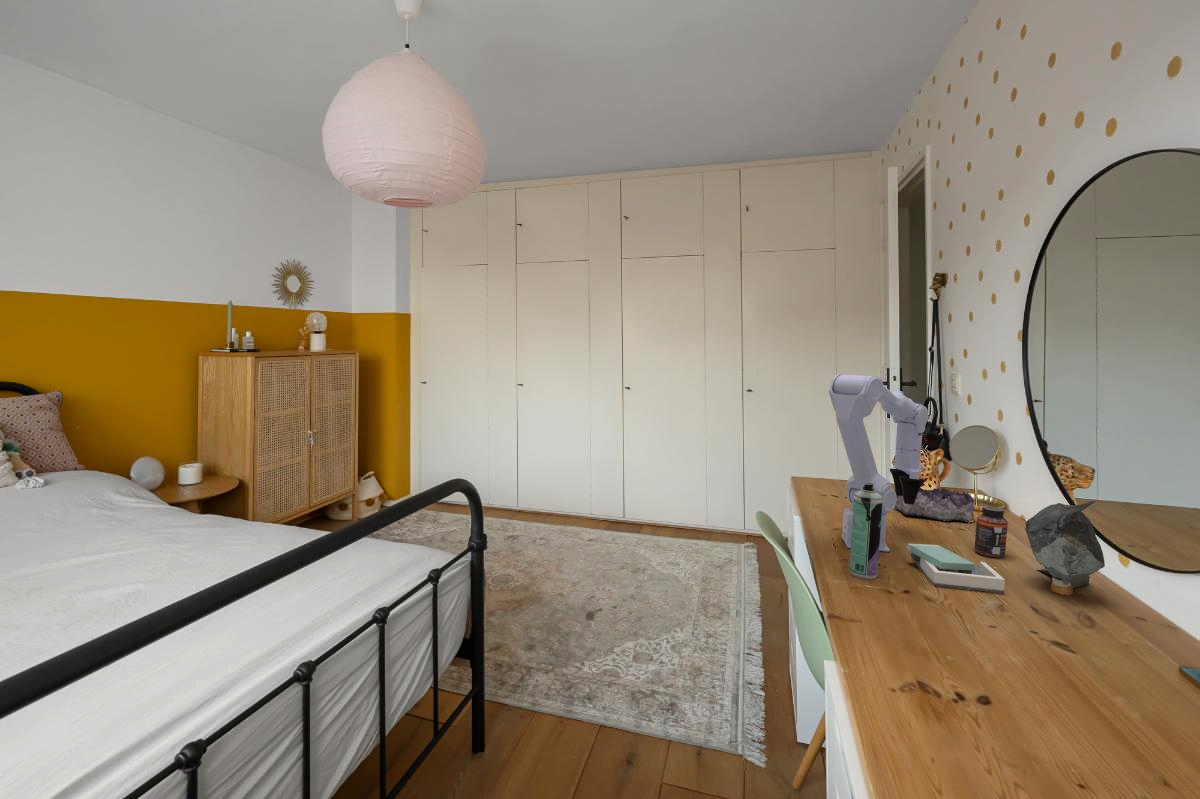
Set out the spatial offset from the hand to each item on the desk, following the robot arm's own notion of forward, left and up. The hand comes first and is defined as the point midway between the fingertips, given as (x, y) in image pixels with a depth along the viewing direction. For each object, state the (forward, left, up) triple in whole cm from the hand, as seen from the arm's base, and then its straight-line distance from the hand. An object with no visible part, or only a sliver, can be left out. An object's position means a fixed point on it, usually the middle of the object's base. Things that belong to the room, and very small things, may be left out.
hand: (904, 499), depth 138 cm
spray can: (-16, -30, -10) cm, 35 cm away
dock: (+3, -25, -9) cm, 27 cm away
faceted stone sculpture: (+23, -25, -10) cm, 35 cm away
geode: (+13, +20, -10) cm, 26 cm away
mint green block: (+1, -25, -8) cm, 26 cm away
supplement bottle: (+16, -9, -10) cm, 21 cm away
